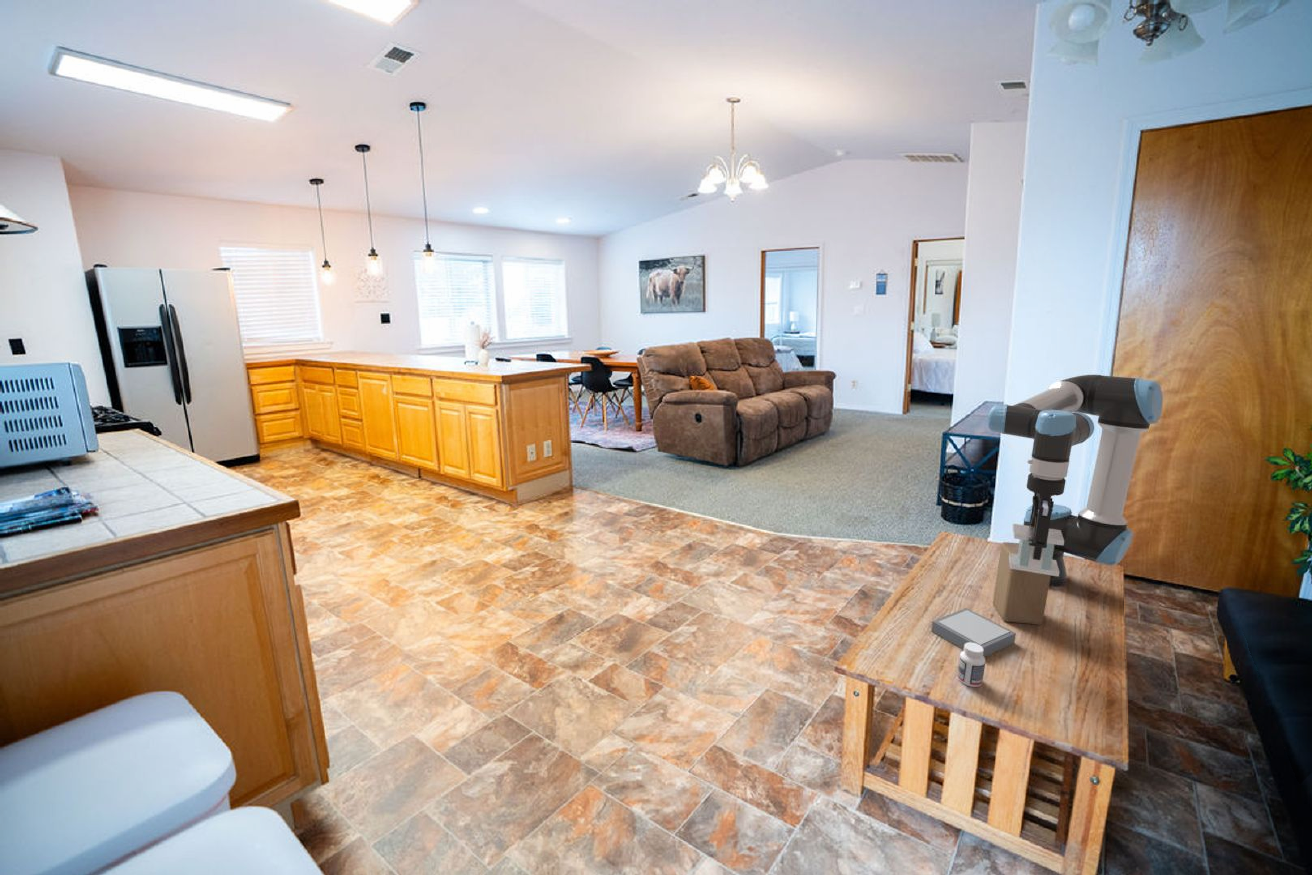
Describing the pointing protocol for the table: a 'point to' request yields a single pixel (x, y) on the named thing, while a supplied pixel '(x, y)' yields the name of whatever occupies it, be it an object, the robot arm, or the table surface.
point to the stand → (973, 631)
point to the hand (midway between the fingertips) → (1032, 563)
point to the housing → (1026, 537)
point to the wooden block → (1019, 590)
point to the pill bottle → (971, 665)
